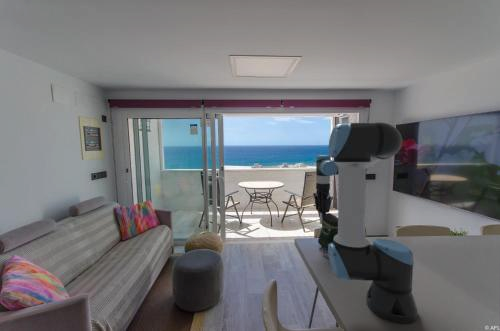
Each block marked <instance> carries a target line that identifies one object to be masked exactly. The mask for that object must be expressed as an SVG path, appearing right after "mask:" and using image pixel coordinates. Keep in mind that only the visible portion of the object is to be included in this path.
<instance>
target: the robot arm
mask: <svg viewBox="0 0 500 331" xmlns="http://www.w3.org/2000/svg"><path fill="white" fill-rule="evenodd" d="M402 146H403V137H402V134H401V133H400V130H398V128H396V127H395V126H394V125H391V124H389V123H387V122H345V123H338V124H336V125H335V126H334V127H333V129H331V133H330V136H329V141H328V155H327V154H318V155H317V156H316V161H315V162H316V164H315V165H316V166H315V167H316V170H315V172H316V173H315V182H316V183H315V190H316V192H314V193H312V195H313V198H314V205H315V210H316V211H318V218H319V225H322V224H323V222H322V219H323V217H324V215H325V214H327V213H330V210H331V205H332V201H333V199H334V196H332V195H331V194H330V190H331V183H330V182H331V176H337V177H338V178H337V179H338V181H337V182H338V184H337V188H338V189H337V191H338V192H337V193H338V194H337V196H338V198H337V203H338V204H337V206H338V208H337V217H338V234H337V235H336V236H334V242H333V243H330V244H329V245H328V250H327V253H329V259H328V260H329V263H330V266H331V270H332V272H333V275H334V276H335V277H336V278H337V279H341V280H348V281H371V284H370V286H369V288H368V290H367V292H366V304H367V306H368V308H369V309H370V310H371V311H372V312H373V313H374V314H376V316H377V315H378V317H381V318H383V319H384V320H387V321H390V322H392V323H397V324H403V325H404V324H405V325H407V324H411V323H414V322H416V321H417V318H418V307H417V304H416V301H415V298H414V295H413V274H414V265H415V263H414V253H413V250H412V249H410V248H409V247H408V246H406V245H404V244H402V243H400V242H398V241H394V240H392V239H388V238H375V239H374V240H373V243H372V244H371V243H370V240H369V239H368V238H367V237H366V234H365V233H366V173H367V171H368V169H369V167H371V166H373V165H374V164H376V163H378V162H380V161H381V160H387V159H391V158H392V157H393V156H396V154H398V152H400V150H401V148H402Z"/></svg>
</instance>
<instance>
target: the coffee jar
mask: <svg viewBox="0 0 500 331" xmlns="http://www.w3.org/2000/svg"><path fill="white" fill-rule="evenodd" d="M322 222H323V224H321V230H320V232H319V236H318V240H317V242H318V245H320V247H322V248H324V250H327V251H328V245H329V244H330V243H333V242H334V236H336V235H337V234H338V216H336V215H334V214H332V213H331V212H328V213H326V214H325V215H324V217H323V219H322Z"/></svg>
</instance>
